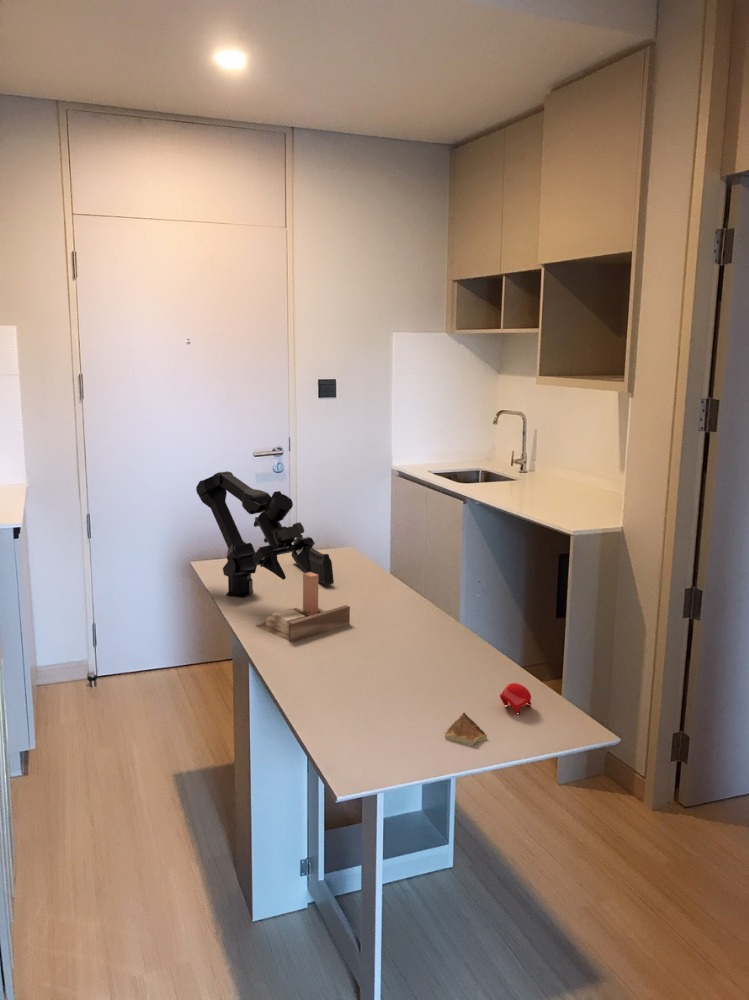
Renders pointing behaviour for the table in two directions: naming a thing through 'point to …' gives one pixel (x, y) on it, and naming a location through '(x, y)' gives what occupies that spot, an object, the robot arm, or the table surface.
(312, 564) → the magazine
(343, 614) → the rack
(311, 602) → the block
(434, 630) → the table surface
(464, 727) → the shard
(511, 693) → the red legged dome
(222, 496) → the robot arm
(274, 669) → the table surface
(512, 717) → the table surface
